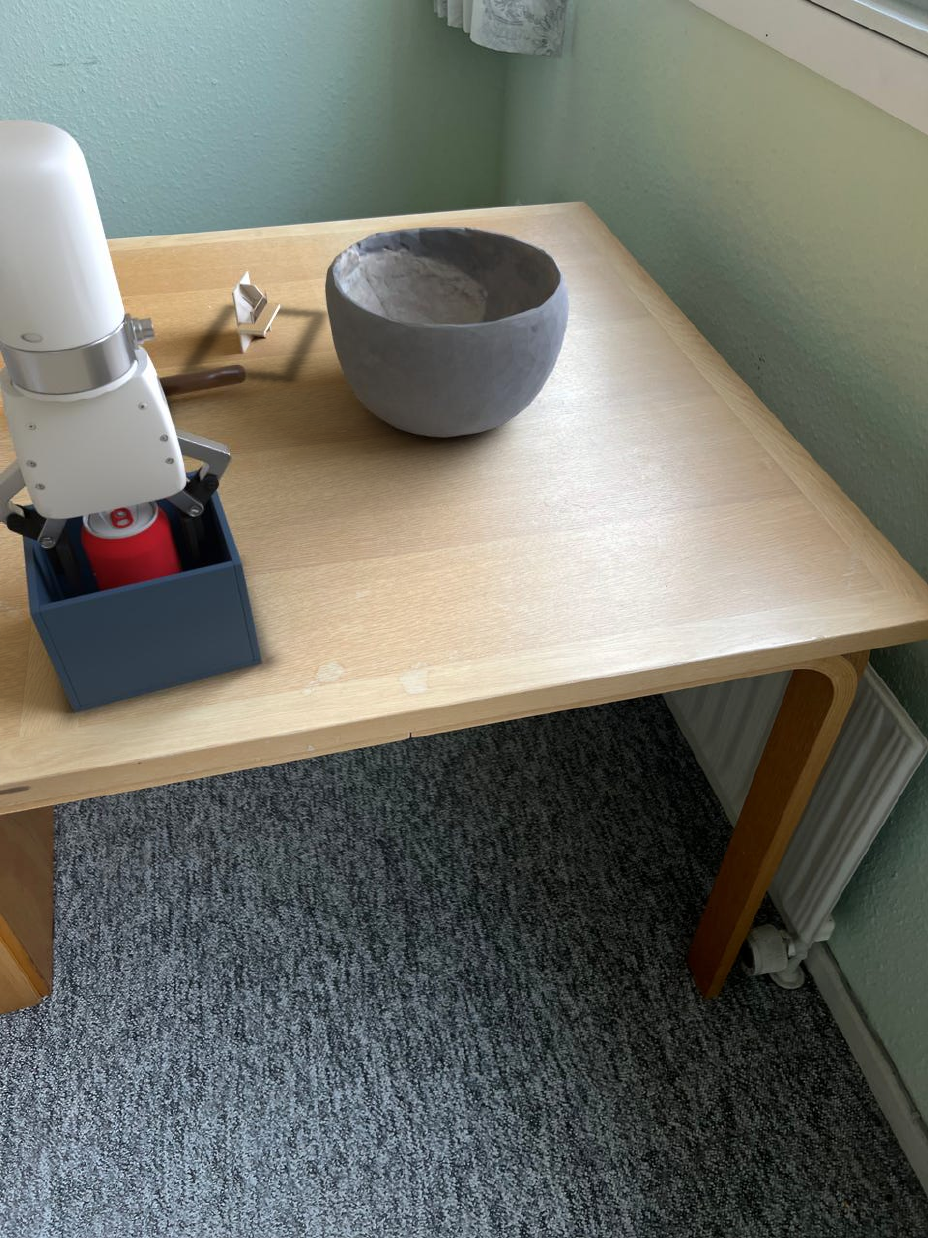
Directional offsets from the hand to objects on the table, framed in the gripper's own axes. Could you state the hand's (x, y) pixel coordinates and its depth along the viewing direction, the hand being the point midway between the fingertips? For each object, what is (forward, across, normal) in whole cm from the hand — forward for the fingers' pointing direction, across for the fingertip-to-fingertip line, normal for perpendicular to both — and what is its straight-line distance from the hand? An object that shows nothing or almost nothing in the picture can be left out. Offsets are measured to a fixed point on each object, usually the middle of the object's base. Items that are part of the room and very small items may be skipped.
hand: (134, 561), depth 69 cm
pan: (+8, -5, -34) cm, 35 cm away
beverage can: (+8, 0, 0) cm, 8 cm away
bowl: (+8, -34, -24) cm, 42 cm away
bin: (+8, 0, 0) cm, 8 cm away
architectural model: (+8, -18, -44) cm, 48 cm away
